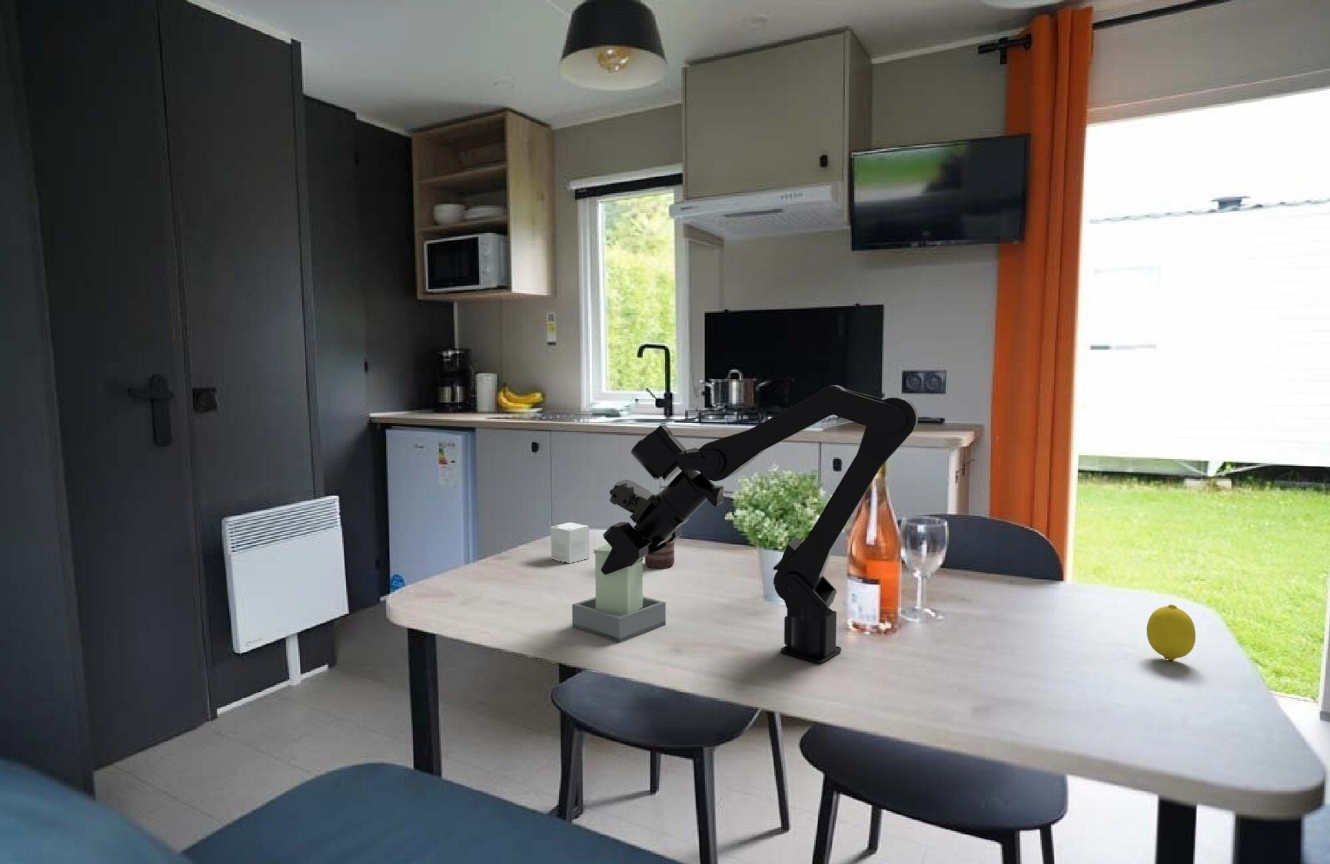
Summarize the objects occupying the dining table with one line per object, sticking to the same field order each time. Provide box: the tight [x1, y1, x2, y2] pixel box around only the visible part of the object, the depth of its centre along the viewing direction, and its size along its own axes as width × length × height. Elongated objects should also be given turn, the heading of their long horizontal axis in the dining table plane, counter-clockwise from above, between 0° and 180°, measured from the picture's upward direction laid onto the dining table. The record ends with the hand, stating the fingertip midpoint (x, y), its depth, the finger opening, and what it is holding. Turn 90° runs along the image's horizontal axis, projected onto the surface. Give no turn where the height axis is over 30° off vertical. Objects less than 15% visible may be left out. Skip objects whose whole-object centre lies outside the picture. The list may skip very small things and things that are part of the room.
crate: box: [571, 595, 667, 644], centre depth 114 cm, size 10×10×4 cm
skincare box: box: [550, 522, 591, 564], centre depth 156 cm, size 6×6×7 cm
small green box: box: [593, 543, 644, 616], centre depth 114 cm, size 6×6×10 cm
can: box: [644, 540, 675, 570], centre depth 151 cm, size 6×6×14 cm
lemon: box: [1146, 603, 1196, 661], centre depth 100 cm, size 6×6×8 cm
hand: (611, 567), depth 114 cm, fingers closed on small green box, 5 cm apart
